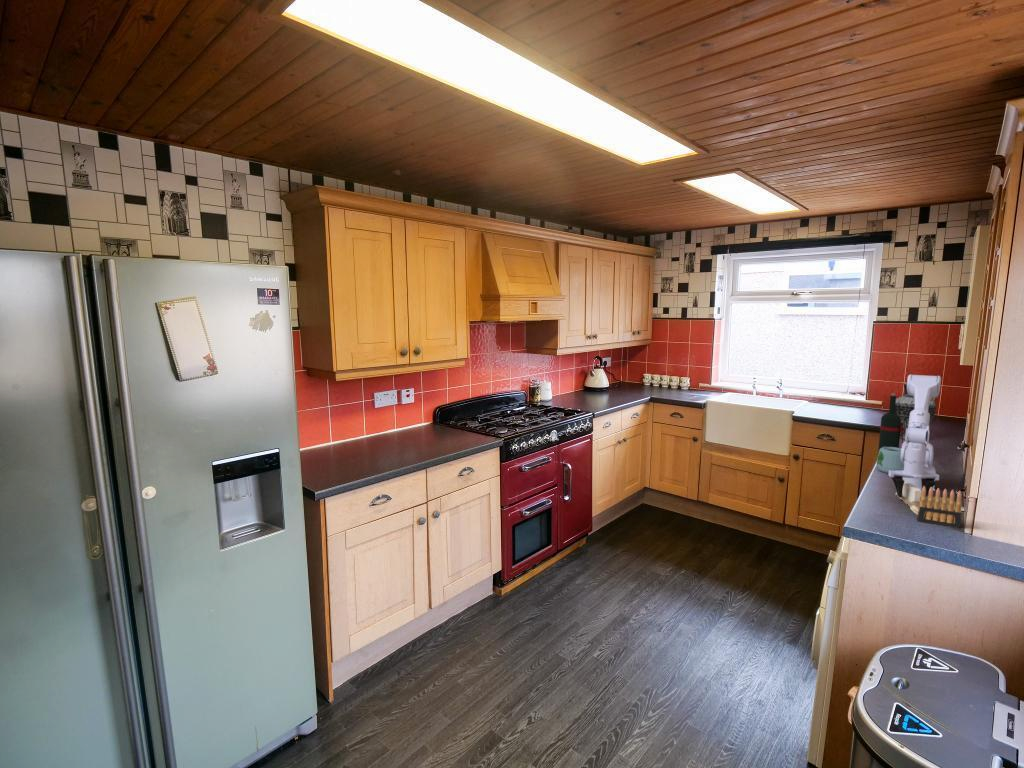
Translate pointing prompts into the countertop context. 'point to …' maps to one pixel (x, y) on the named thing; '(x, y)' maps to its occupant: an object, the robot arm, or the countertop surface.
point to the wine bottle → (890, 427)
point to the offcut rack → (912, 504)
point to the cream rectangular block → (911, 492)
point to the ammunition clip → (940, 508)
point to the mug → (889, 459)
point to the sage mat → (947, 502)
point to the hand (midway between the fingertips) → (911, 497)
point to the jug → (910, 409)
